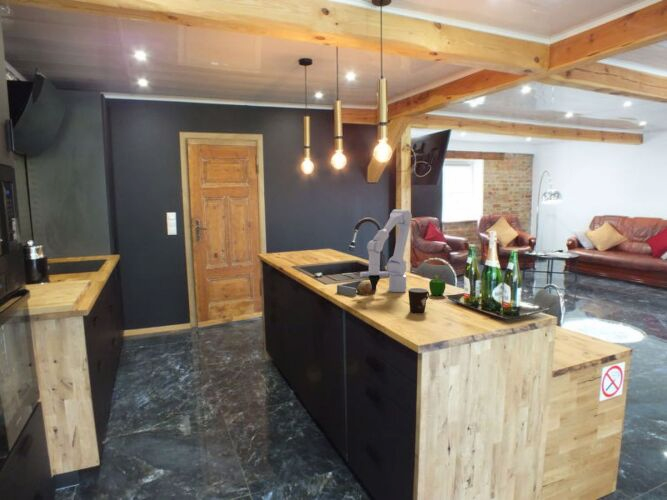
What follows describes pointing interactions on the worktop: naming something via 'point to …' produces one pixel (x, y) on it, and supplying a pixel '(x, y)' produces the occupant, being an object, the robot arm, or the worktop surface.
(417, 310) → the coffee mug
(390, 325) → the worktop surface
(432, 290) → the bell pepper
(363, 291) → the bread roll
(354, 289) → the box
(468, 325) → the worktop surface
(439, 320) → the worktop surface
